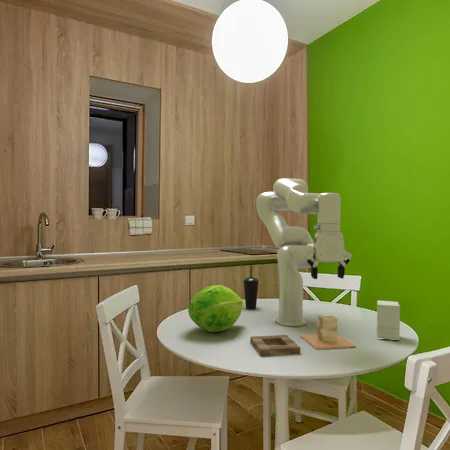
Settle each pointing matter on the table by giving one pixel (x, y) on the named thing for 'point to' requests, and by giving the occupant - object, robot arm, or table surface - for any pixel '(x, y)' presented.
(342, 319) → the table surface
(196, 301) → the lettuce
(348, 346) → the pad
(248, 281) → the drinking cup
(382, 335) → the supplement box
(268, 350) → the pocket block
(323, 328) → the maple block
